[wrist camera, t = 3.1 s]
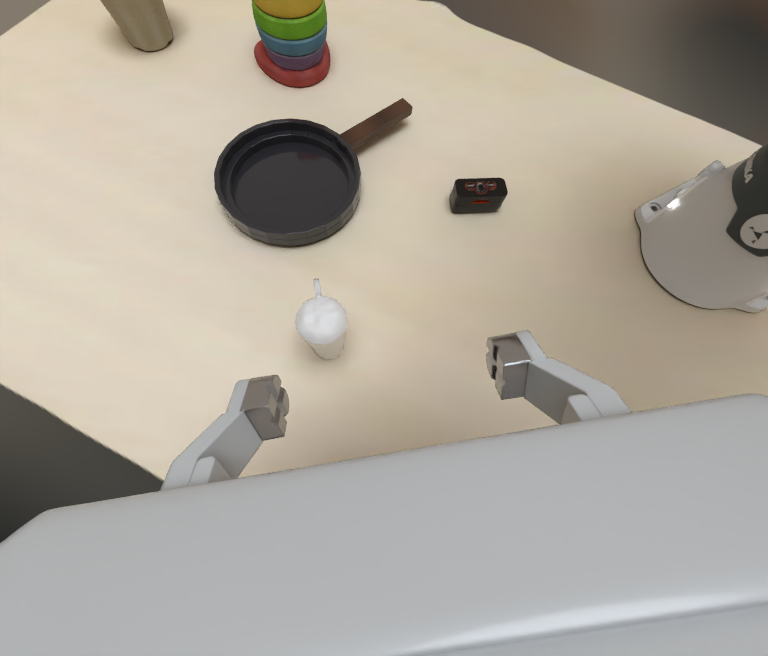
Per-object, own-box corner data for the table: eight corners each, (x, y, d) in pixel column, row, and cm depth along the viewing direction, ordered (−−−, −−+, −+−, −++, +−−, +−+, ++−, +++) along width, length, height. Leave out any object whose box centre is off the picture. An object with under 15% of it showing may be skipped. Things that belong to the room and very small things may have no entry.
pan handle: (345, 154, 45) (345, 146, 44) (335, 144, 46) (335, 137, 45) (411, 114, 48) (412, 106, 47) (401, 105, 49) (402, 97, 48)
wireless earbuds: (504, 212, 46) (514, 195, 43) (451, 214, 46) (457, 197, 42) (497, 183, 48) (507, 165, 45) (445, 185, 47) (451, 166, 44)
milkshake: (346, 317, 40) (342, 276, 31) (352, 363, 38) (349, 334, 29) (306, 321, 40) (289, 281, 30) (309, 368, 38) (293, 340, 28)
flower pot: (159, 8, 55) (124, -69, 47) (198, 39, 53) (169, -35, 45) (105, 36, 52) (58, -41, 44) (144, 69, 50) (103, -4, 42)
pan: (306, 119, 49) (303, 99, 46) (387, 199, 46) (389, 183, 43) (196, 180, 45) (185, 161, 42) (276, 274, 41) (270, 261, 38)
